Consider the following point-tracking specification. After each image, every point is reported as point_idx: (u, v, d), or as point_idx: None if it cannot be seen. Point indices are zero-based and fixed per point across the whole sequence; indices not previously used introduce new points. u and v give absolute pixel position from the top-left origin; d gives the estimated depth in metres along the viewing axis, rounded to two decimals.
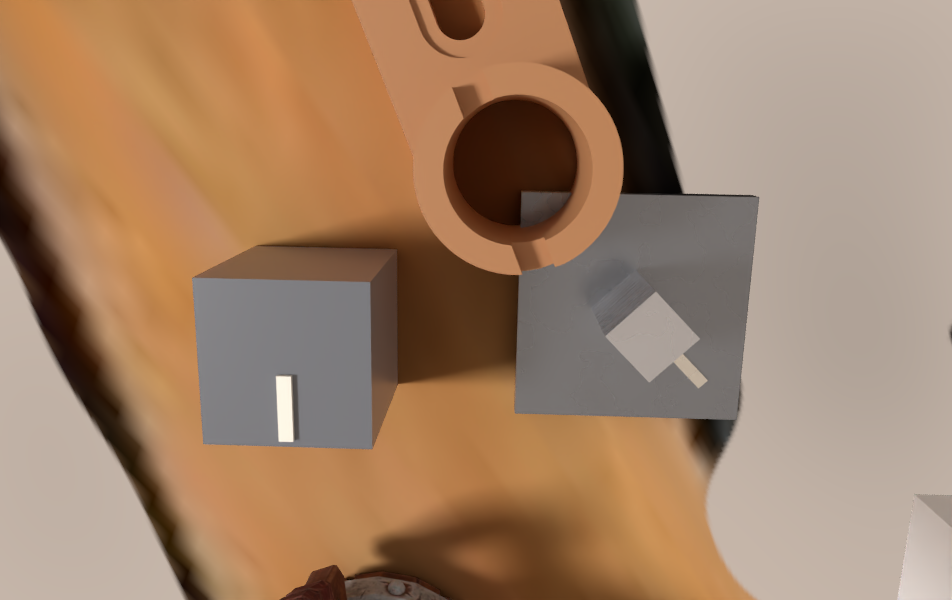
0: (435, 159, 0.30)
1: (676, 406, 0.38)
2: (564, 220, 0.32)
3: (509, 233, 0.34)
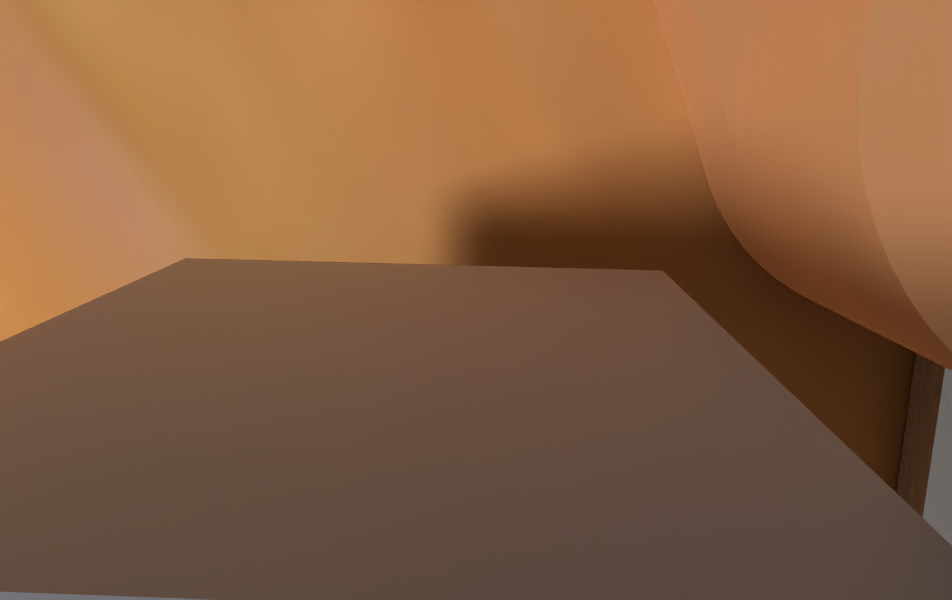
0: None
1: None
2: None
3: None
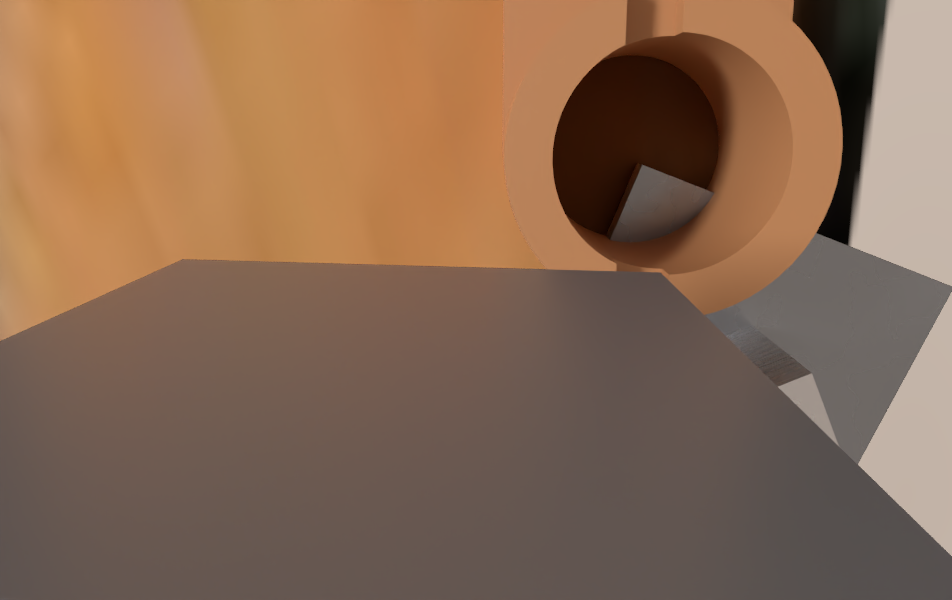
0: (557, 91, 0.19)
1: None
2: (693, 254, 0.21)
3: (598, 242, 0.23)
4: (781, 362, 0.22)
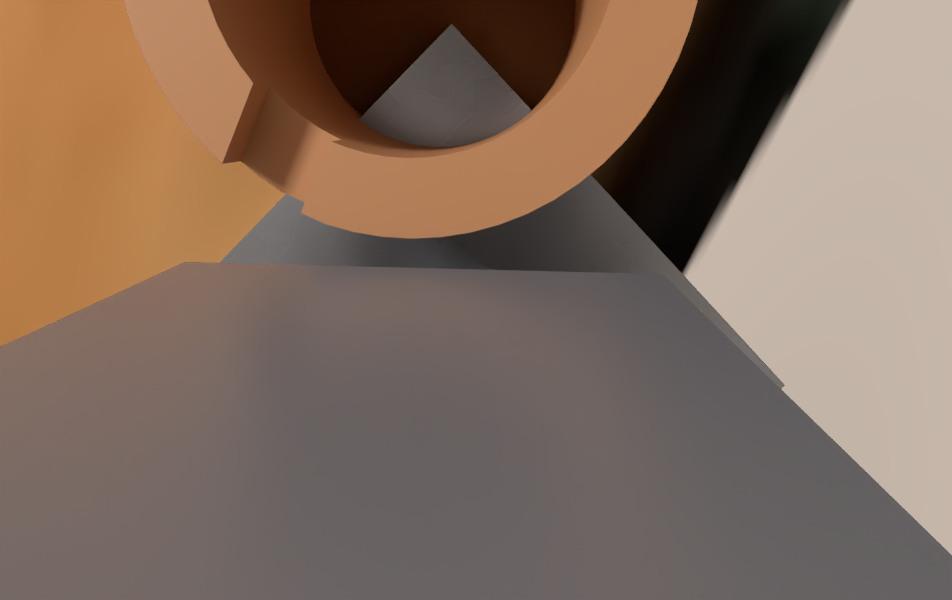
0: None
1: None
2: (414, 153, 0.13)
3: (309, 90, 0.14)
4: None
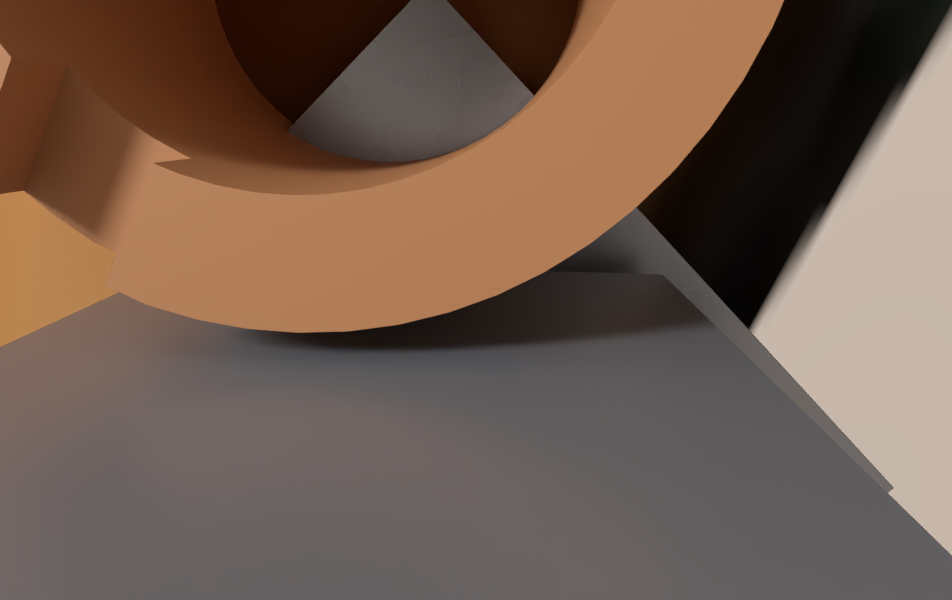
0: None
1: None
2: (324, 179, 0.08)
3: (180, 76, 0.10)
4: None
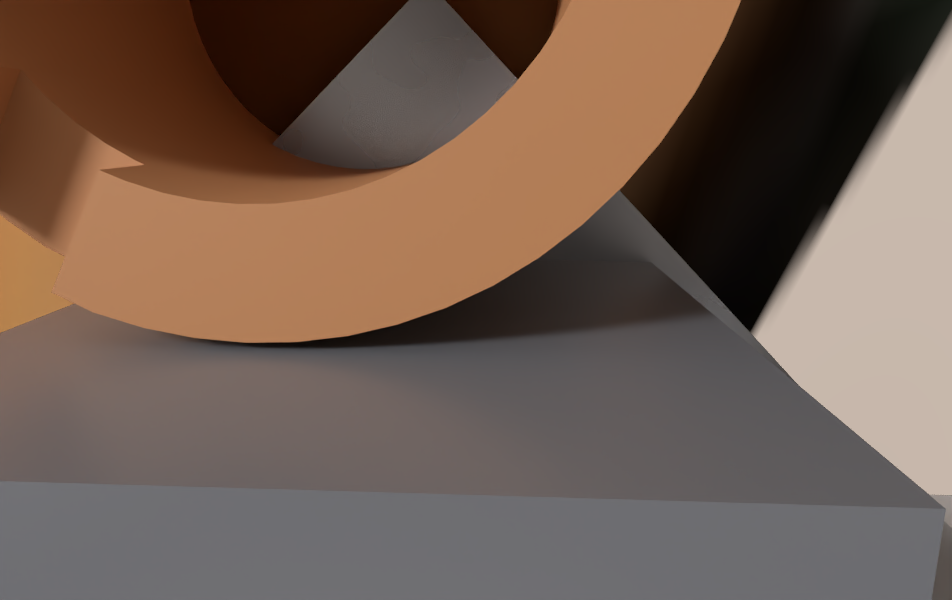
0: None
1: None
2: (284, 186, 0.08)
3: (147, 81, 0.10)
4: None
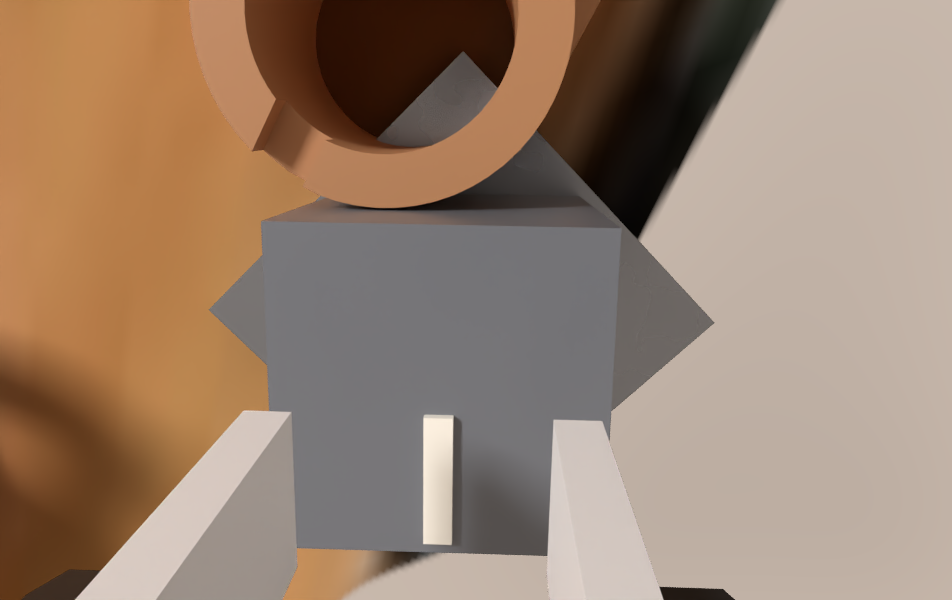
0: None
1: None
2: (383, 150, 0.19)
3: (312, 101, 0.20)
4: None
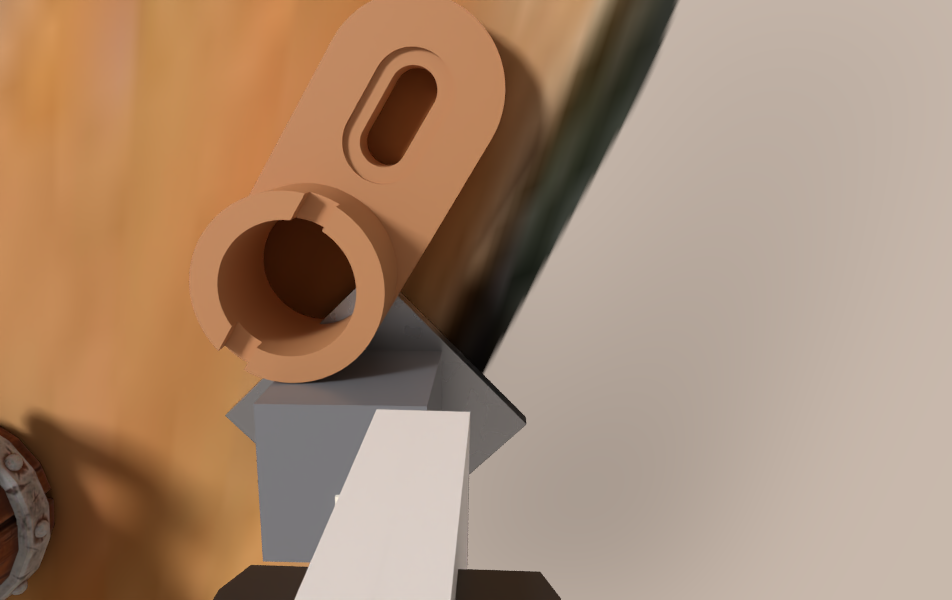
0: (243, 222, 0.32)
1: None
2: (291, 344, 0.35)
3: (256, 306, 0.36)
4: None
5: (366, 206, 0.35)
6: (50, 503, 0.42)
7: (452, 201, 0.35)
